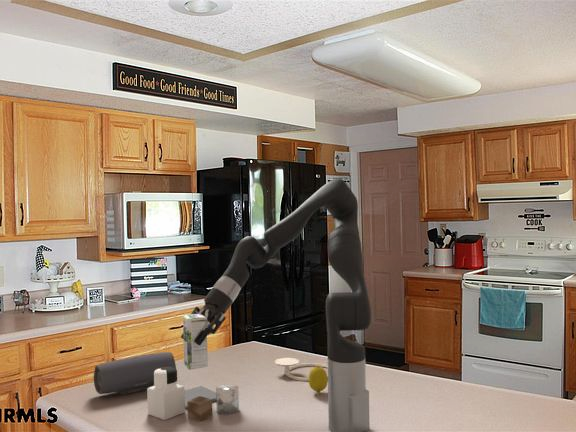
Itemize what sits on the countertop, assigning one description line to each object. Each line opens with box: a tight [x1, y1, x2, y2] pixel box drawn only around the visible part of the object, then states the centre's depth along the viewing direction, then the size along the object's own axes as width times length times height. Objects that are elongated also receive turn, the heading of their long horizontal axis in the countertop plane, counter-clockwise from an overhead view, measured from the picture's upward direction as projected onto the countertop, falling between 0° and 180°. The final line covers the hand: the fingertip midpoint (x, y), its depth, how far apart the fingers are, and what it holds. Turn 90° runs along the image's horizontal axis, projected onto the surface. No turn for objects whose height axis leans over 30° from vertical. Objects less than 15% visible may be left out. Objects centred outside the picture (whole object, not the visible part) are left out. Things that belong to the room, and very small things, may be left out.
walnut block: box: [187, 396, 213, 423], centre depth 143 cm, size 4×4×4 cm
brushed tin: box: [215, 383, 240, 415], centre depth 148 cm, size 6×6×6 cm
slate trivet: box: [185, 385, 216, 410], centre depth 157 cm, size 12×12×1 cm
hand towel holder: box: [274, 357, 328, 382], centre depth 179 cm, size 17×4×21 cm
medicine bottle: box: [146, 367, 186, 421], centre depth 146 cm, size 7×7×12 cm
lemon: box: [308, 366, 328, 394], centre depth 160 cm, size 6×6×8 cm
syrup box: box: [182, 313, 209, 371], centre depth 157 cm, size 6×6×14 cm
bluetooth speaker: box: [93, 351, 177, 395], centre depth 166 cm, size 23×9×10 cm, turn 126°
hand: (190, 341), depth 156 cm, fingers closed on syrup box, 6 cm apart
